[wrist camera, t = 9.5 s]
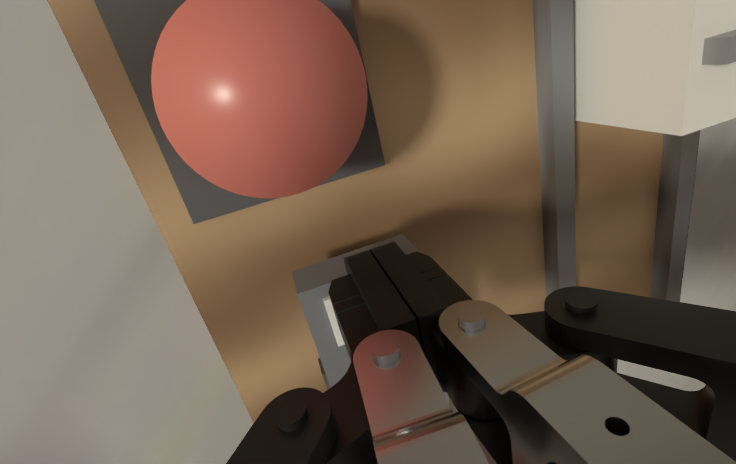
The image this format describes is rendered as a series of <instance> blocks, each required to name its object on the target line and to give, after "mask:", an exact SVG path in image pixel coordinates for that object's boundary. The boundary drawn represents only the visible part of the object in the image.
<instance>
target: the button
mask: <svg viewBox="0 0 736 464" xmlns="http://www.w3.org/2000/svg"><path fill="white" fill-rule="evenodd" d="M151 86H152V97H153V101H154V106H155V110H156V114H157V116H158V119H159V122H160V125H161V127H162V129H163V131H164V133H165V135H166V137H167V139H168V140H169V142H170V143H171V145H172V146H173V148H174V149H175V151H176V152H177V153H178V154H179V156H180V157H181V158H182V159H183V160H184V161H185V162H186V164H188V165H189V166H190V167H191V168H192V169H193V170H194V171H195V172H196V173H198V174H199V175H201V176H202V177H203V178H205V179H206V180H208V181H209V182H211V183H213V184H215V185H217V186H218V187H220V188H222V189H225V190H228V191H230V192H233V193H236V194H240V195H243V196H248V197H255V198H280V197H287V196H292V195H296V194H299V193H302V192H304V191H307V190H310V189H311V188H313V187H315V186H317V185H319V184H321V183H322V182H324V181H325V180H326V179H328V178H329V177H331V176H332V175H333V174H334V173H335V172H336V171H337V170H338V169H339V168H340V167H341V166H342V165H343V164H344V162H345V161H346V160H347V159H348V157H349V156H350V154H351V153H352V151H353V150H354V148H355V146H356V144H357V142H358V140H359V138H360V135H361V132H362V129H363V126H364V122H365V117H366V112H367V100H368V97H367V82H366V75H365V70H364V66H363V63H362V59H361V57H360V54H359V52H358V49H357V47H356V45H355V43H354V41H353V39H352V37H351V35H350V34H349V32H348V31H347V29H346V28H345V26H344V25H343V24H342V22H341V21H340V20H339V19H338V18H337V16H336V15H335V14H334V13H333V12H332V11H331V10H330V9H329V8H328V7H327V6H325V5H324V4H323V3H322V2H321V1H319V0H186V1H185V2H184V3H183V4H182V5H181V6H180V7H179V8H178V9H177V10H176V11H175V13H174V14H173V15H172V16H171V18H170V19H169V20H168V22H167V24H166V25H165V27H164V29H163V31H162V33H161V35H160V37H159V40H158V43H157V46H156V48H155V52H154V57H153V62H152V73H151Z"/></svg>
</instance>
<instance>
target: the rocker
mask: <svg viewBox="0 0 736 464" xmlns="http://www.w3.org/2000/svg"><path fill="white" fill-rule="evenodd" d="M393 241H394V242H395V243H396V244H397V245H398V246H399V247H400V248H401V250H402V251H403V252H404V253H405V254H406V255H407V254H410V253H413V252H416V251H417V252H420V251H419V250H418V249H417V248H416V247H415V246H414V245H413V244H412V243H411V242H410V241H409V240H408V239H407V238H406V237H405V236H404V235H403V234H400V235H397V236H395V237H392V238H389V239H386V240H383V241H380V242H377V243H374V244H371V245H368V246H365V247H362V248H359V249H357V250H354V251H351V252H348V253H345V254H342V255H339V256H336V257H333V258H330V259H327V260H324V261H321V262H319V263H316V264H313V265H310V266H307V267H304V268H301V269H298V270H295V271H292V276H293V280H294V284H295V287H296V291H297V295H298V298H299V300H300V303H301V306H302V309H303V312H304V315H305V317H306V320H307V323H308V326H309V329H310V331H311V334H312V337H313V340H314V343H315V345H316V348H317V351H318V354H319V357H320V360H321V362H322V365H323V368H324V371H325V374H326V376H327V379H328V382H329V385H330V388H331V387H332V386H334V385H335V384H336V383H337V382H339V380H340V379H341V378H342V377H343V376H344V375H345V374H346V372H347V370H348V369H349V366H350V364H351V360H350V357H349V354H348V352H347V349H346V346H345V344H344V341H343V338H342V335H341V332H340V329H339V326H338V323H337V319H336V316H335V313H334V309H333V306H332V303H331V300H330V296H329V293H328V291H329V288H330V285H331V281H332V280H334V279H337V278H340V277H343V276H346V275H348V273H347V271H346V267H345V263H344V258H345V257H348V256H351V255H354V254H357V253H360V252H363V251H366V250H369V249H371V248H374V247H377V246H380V245H383V244H387V243H390V242H393ZM444 395H445V397H446V399H447V401H448V403H449V405H450V402H449V397H448V394H447V392H444Z"/></svg>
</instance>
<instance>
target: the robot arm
mask: <svg viewBox="0 0 736 464" xmlns="http://www.w3.org/2000/svg"><path fill="white" fill-rule="evenodd" d="M344 263H345V267H346V271H347V273H348V275H346V276H343V277H340V278H337V279H334V280H332V281H331V285H330V288H329V291H328V293H329V296H330V300H331V303H332V306H333V309H334V313H335V316H336V319H337V323H338V326H339V329H340V332H341V335H342V338H343V341H344V344H345V346H346V349H347V352H348V354H349V357H350V360H351V364H350V366H349V369H348V370H347V372H346V374H345V375H344V376H343V377H342V378H341V379H340V380H339V382H337V383H336V384H335V385H334V386H332V387H331V388H329V389H328V390H327V391H325V392H324V393H322V392H321V391H319V390H317V389H314V388H307V387H303V388H296V389H292V390H289V391H287V392H285V393H282V394H281V395H279V396H277V397H276V398H275V399H273V400H272V401H271V402H270V403H269V404H268V405H267V406H266V407H265V408H264V410H263V411H262V412H261V414H260V415H259V417H258V418H257V419H256V421H255V422H254V424H253V425H252V427H251V428H250V430H249V431H248V433H247V434H246V436H245V437H244V438H243V440H242V441H241V443H240V444H239V446H238V447H237V449H236V450H235V452H234V453H233V455H232V456H231V457H230V459H229V460H228V462H227V463H226V464H736V312H735V311H729V310H723V309H717V308H711V307H705V306H699V305H693V304H687V303H681V302H675V301H669V300H663V299H657V298H650V297H644V296H638V295H632V294H626V293H620V292H614V291H608V290H602V289H596V288H590V287H582V286H572V287H565V288H561V289H558V290H555V291H553V292H552V293H550V294H549V295H548V296H547V297H546V299H545V302H544V311H540V312H532V313H524V314H514V315H509V314H506V313H505V312H504V311H503V310H501V309H500V308H499V307H497V306H496V305H494V304H492V303H489V302H486V301H481V300H473V299H472V298H471V297H470V296H469V295H468V294H467V293H466V292H465V291H464V290H463V289H462V288H461V287H460V286H459V285H458V284H457V283H456V282H455V281H454V280H453V279H452V278H451V277H450V276H449V275H447V273H446V272H445V271H444V270H443V269H442V268H440V266H439V265H438V264H437V263H436V262H435V261H434V260H433V259H432V258H431V257H430V256H427V255H425V254H422V253H420V252H417V251H416V252H413V253H410V254H407V255H406V254H405V253H404V252H403V251H402V250H401V248H400V247H399V246H398V245H397V244H396V243H395V242H394V241H393V242H390V243H387V244H383V245H380V246H377V247H374V248H371V249H369V250H366V251H363V252H360V253H357V254H354V255H351V256H348V257H345V258H344ZM618 359H620V360H624V361H628V362H632V363H636V364H640V365H644V366H648V367H652V368H656V369H660V370H664V371H668V372H672V373H676V374H680V375H684V376H688V377H692V378H695V379H697V380H700V381H702V382H704V383H705V384H706V386H705V387H704V388H703V389H701V390H698V391H684V390H679V389H676V388H672V387H668V386H664V385H661V384H657V383H653V382H649V381H646V380H642V379H638V378H634V377H631V376H627V375H623V374H619V373H617V360H618ZM444 392H447V394H448V395H449V397H450V399H451V400H452V404H453V410H454V412H453V410H452V408H451V407H450V405H449V403H448V401H447V399H446V397H445V395H444Z"/></svg>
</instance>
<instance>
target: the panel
mask: <svg viewBox="0 0 736 464" xmlns="http://www.w3.org/2000/svg"><path fill="white" fill-rule="evenodd" d="M47 1H48V3H49V5H50V7H51V9H52V11H53V13H54V15H55V17H56V19H57V21H58V23H59V25H60V27H61V29H62V31H63V33H64V35H65V37H66V40H67V42H68V44H69V46H70V48H71V50H72V52H73V54H74V56H75V58H76V60H77V62H78V64H79V66H80V68H81V70H82V72H83V74H84V76H85V78H86V80H87V83H88V85H89V87H90V89H91V91H92V93H93V95H94V97H95V99H96V101H97V103H98V105H99V107H100V109H101V111H102V113H103V115H104V117H105V119H106V121H107V123H108V125H109V128H110V130H111V132H112V134H113V136H114V138H115V140H116V142H117V144H118V146H119V148H120V150H121V152H122V154H123V156H124V158H125V160H126V162H127V164H128V166H129V168H130V170H131V173H132V175H133V177H134V179H135V181H136V183H137V185H138V187H139V189H140V191H141V193H142V195H143V197H144V199H145V201H146V203H147V205H148V207H149V209H150V211H151V213H152V216H153V218H154V220H155V222H156V224H157V226H158V228H159V230H160V232H161V234H162V236H163V238H164V240H165V242H166V244H167V246H168V248H169V250H170V252H171V254H172V256H173V258H174V261H175V263H176V265H177V267H178V269H179V271H180V273H181V275H182V277H183V279H184V281H185V283H186V285H187V287H188V289H189V291H190V293H191V295H192V297H193V299H194V301H195V304H196V306H197V308H198V310H199V312H200V314H201V316H202V318H203V320H204V322H205V324H206V326H207V328H208V330H209V332H210V334H211V336H212V338H213V340H214V342H215V344H216V346H217V349H218V351H219V353H220V355H221V357H222V359H223V361H224V363H225V365H226V367H227V369H228V371H229V373H230V375H231V377H232V379H233V381H234V383H235V385H236V387H237V389H238V392H239V394H240V396H241V398H242V400H243V402H244V404H245V406H246V408H247V410H248V412H249V414H250V416H251V418H252V420H253V422H255V421H256V419H257V418H258V417H259V415H260V414H261V412H262V411H263V410H264V408H265V407H266V406H267V405H268V404H269V403H270V402H271V401H272V400H273V399H275V398H276V397H277V396H279V395H281V394H282V393H285V392H287V391H289V390H292V389H296V388H303V387H307V388H314V389H317V390H319V391H321V392H322V393H324V392H325V391H327V390H328V389H329V388H330V385H329V382H328V379H327V376H326V374H325V371H324V368H323V365H322V362H321V360H320V357H319V354H318V351H317V348H316V345H315V343H314V340H313V337H312V334H311V331H310V329H309V326H308V323H307V320H306V317H305V315H304V312H303V309H302V306H301V303H300V300H299V298H298V295H297V291H296V287H295V284H294V280H293V276H292V271H295V270H298V269H301V268H304V267H307V266H310V265H313V264H316V263H319V262H321V261H324V260H327V259H330V258H333V257H336V256H339V255H342V254H345V253H348V252H351V251H354V250H357V249H359V248H362V247H365V246H368V245H371V244H374V243H377V242H380V241H383V240H386V239H389V238H392V237H395V236H397V235H400V234H403V235H404V236H405V237H406V238H407V239H408V240H409V241H410V242H411V243H412V244H413V245H414V246H415V247H416V248H417V249H418V250H419V251H420V253H422V254H425V255H427V256H430V257H431V258H432V259H433V260H434V261H435V262H436V263H437V264H438V265H439V266H440V268H442V269H443V270H444V271H445V272H446V273H447V275H449V276H450V277H451V278H452V279H453V280H454V281H455V282H456V283H457V284H458V285H459V286H460V287H461V288H462V289H463V290H464V291H465V292H466V293H467V294H468V295H469V296H470V297H471V298H472V299H473V300H481V301H486V302H489V303H492V304H494V305H496V306H497V307H499V308H500V309H501V310H503V311H504V312H505V313H506V314H509V315H514V314H524V313H532V312H540V311H544V302H545V299H546V297H547V296H548V295H549V294H550V293H552V292H553V291H555V290H558V289H561V288H565V287H572V286H582V287H590V288H596V289H602V290H608V291H614V292H620V293H626V294H632V295H638V296H644V297H650V298H657V299H663V300H669V301H675V302H680V294H681V286H682V277H683V269H684V261H685V253H686V244H687V236H688V228H689V220H690V211H691V203H692V195H693V187H694V178H695V170H696V162H697V154H698V145H699V137H700V130H698V131H695V132H692V133H690V134H687V135H684V136H677V135H670V134H663V133H657V132H650V131H643V130H636V129H629V128H622V127H616V126H609V125H602V124H595V123H588V122H582V121H575V120H574V19H573V0H319V1H321V2H322V3H323V4H324V5H325V6H327V7H328V8H329V9H330V10H331V11H332V12H333V13H334V14H335V15H336V16H337V18H338V19H339V20H340V21H341V22H342V24H343V25H344V26H345V28H346V29H347V31H348V32H349V34H350V35H351V37H352V39H353V41H354V43H355V45H356V47H357V49H358V52H359V54H360V57H361V59H362V63H363V66H364V70H365V75H366V82H367V97H368V100H367V112H366V117H365V122H364V126H363V129H362V132H361V135H360V138H359V140H358V142H357V144H356V146H355V148H354V150H353V151H352V153H351V154H350V156H349V157H348V159H347V160H346V161H345V162H344V164H343V165H342V166H341V167H340V168H339V169H338V170H337V171H336V172H335V173H334V174H333V175H332V176H331V177H329V178H328V179H326V180H325V181H324V182H322V183H321V184H319V185H317V186H315V187H313V188H311V189H310V190H307V191H304V192H302V193H299V194H296V195H292V196H287V197H280V198H255V197H248V196H243V195H240V194H236V193H233V192H230V191H228V190H225V189H222V188H220V187H218V186H217V185H215V184H213V183H211V182H209V181H208V180H206V179H205V178H203V177H202V176H201V175H199V174H198V173H196V172H195V171H194V170H193V169H192V168H191V167H190V166H189V165H188V164H186V162H185V161H184V160H183V159H182V158H181V157H180V156H179V154H178V153H177V152H176V151H175V149H174V148H173V146H172V145H171V143H170V142H169V140H168V139H167V137H166V135H165V133H164V131H163V129H162V127H161V125H160V122H159V119H158V116H157V114H156V110H155V106H154V101H153V97H152V86H151V73H152V62H153V57H154V52H155V48H156V46H157V43H158V40H159V37H160V35H161V33H162V31H163V29H164V27H165V25H166V24H167V22H168V20H169V19H170V18H171V16H172V15H173V14H174V13H175V11H176V10H177V9H178V8H179V7H180V6H181V5H182V4H183V3H184V2H185V1H186V0H47ZM448 397H449V395H448ZM449 402H450V407H451V408H452V410H453V404H452V400H451V399H450V397H449ZM453 412H454V410H453Z"/></svg>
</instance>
